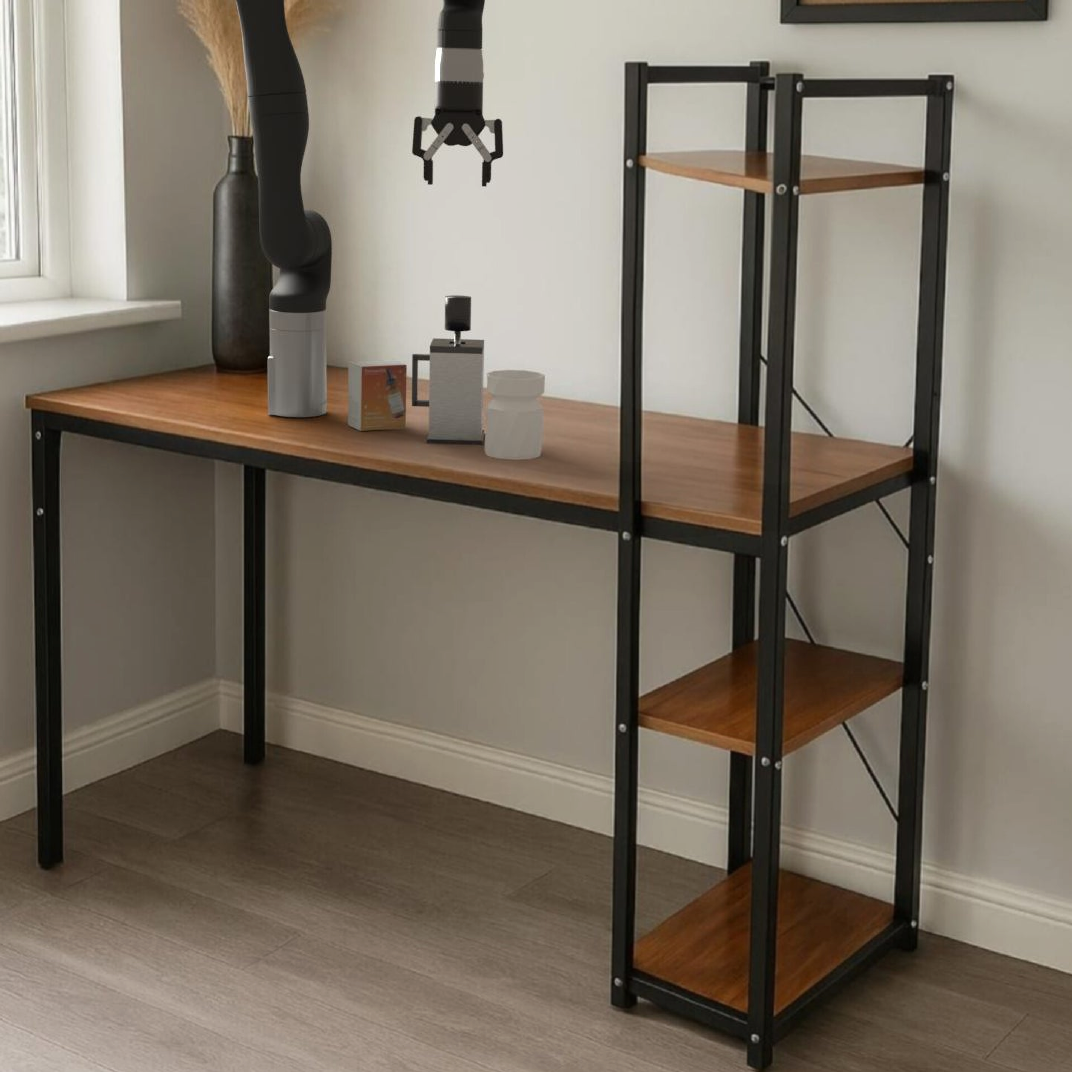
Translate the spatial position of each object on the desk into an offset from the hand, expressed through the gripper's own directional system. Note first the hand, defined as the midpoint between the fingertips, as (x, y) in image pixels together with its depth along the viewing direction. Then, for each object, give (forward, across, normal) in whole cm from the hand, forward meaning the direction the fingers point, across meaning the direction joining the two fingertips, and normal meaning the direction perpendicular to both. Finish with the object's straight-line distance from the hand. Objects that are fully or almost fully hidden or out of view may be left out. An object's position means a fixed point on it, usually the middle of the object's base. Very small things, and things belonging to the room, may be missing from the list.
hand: (457, 185), depth 266 cm
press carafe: (+38, 0, -13) cm, 40 cm away
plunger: (+37, +1, -13) cm, 39 cm away
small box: (+38, -12, -6) cm, 41 cm away
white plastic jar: (+38, +10, -23) cm, 46 cm away
